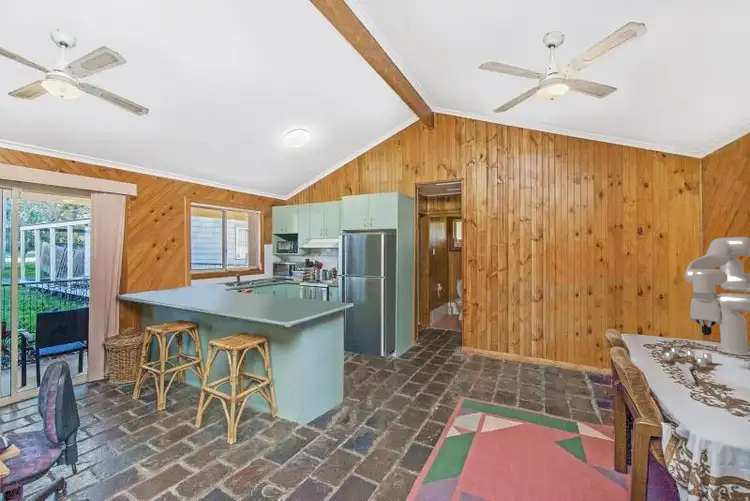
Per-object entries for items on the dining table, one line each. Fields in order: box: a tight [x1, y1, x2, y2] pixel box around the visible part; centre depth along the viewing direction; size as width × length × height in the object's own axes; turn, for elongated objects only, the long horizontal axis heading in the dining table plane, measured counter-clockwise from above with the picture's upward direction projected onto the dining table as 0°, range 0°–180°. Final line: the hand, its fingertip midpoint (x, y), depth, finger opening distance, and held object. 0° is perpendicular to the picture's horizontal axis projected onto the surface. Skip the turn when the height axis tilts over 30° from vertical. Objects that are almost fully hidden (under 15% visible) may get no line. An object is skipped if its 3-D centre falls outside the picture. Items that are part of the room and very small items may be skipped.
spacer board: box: [658, 356, 719, 373], centre depth 157 cm, size 16×18×1 cm
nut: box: [681, 357, 694, 365], centre depth 157 cm, size 4×5×2 cm
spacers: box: [664, 347, 713, 371], centre depth 157 cm, size 13×15×5 cm
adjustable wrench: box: [674, 362, 696, 386], centre depth 145 cm, size 25×6×2 cm, turn 137°
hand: (706, 334), depth 150 cm, fingers closed
